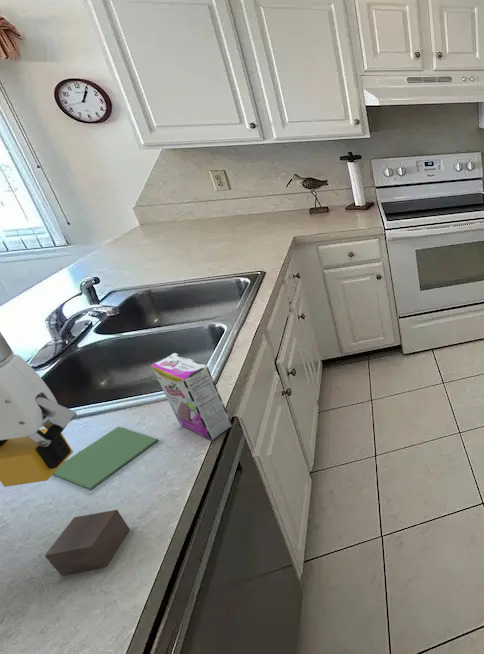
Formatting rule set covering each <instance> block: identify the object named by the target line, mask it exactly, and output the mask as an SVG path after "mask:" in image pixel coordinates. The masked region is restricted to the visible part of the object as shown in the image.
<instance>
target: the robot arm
mask: <svg viewBox="0 0 484 654" xmlns="http://www.w3.org/2000/svg"><path fill="white" fill-rule="evenodd" d="M77 415H78V413H77V412H76V411H74V410H72V409H70V408H68V407H66V406H63V405H61V404H59V403H58V401H57V399H56V397H55V396H54V393H53V392H52V391H51V389H50V388H49V386H48V385H47V384H46V382H45V381H44V380H43V379H42V378H41V376H40V375H39V374H38V373H37V372H36V370H35V369H33V367H32V366H31V365H30V364H29V363H28V362H27V361H26V360H25V359H24V358H22V356H20V355H19V354H15V353H14V351H13V349H12V348H11V346H10V345H9V343H8V341H7V340H6V338H5V337H4V335H3V334H2V332H1V331H0V447H1V446H2V445H3V444H4V443H5V442H7V441H8V440H9V439H13V438H20V437H26V436H28V437H29V438H31V439H32V440H33V441H34V442H36V443H37V444H38V445H40V446H39V447H38V448H37V449H36V450H37V452H38V453H39V454H40V456H41V457H42V459H43V460H44V462H45V463H46V465H47V466H48V467H49V468H50V469H53V468H57V467H58V465H59V464H60V463H61V462H62V461H63V460H64V459H65V458H66V457H67V456H68V455H69V454H70V452H71V450H70V448H71V447H70V448H69V446H70V445H69V446H68V445H67V443H68V442H67V443H66V442H65V440H66V439H65V440H64V439H63V437H64V436H63V437H62V436H61V434H60V433H63V432H64V431H65V428H66V427H67V426H68V424H70V422H72V421H73V419H75V418H76V416H77ZM42 427H44V429H48V430H47V432H46V433H45V434H44V433H43V432H41V431H40V429H42Z"/></svg>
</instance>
